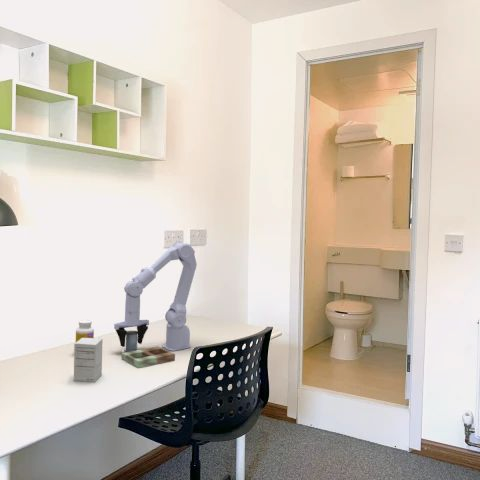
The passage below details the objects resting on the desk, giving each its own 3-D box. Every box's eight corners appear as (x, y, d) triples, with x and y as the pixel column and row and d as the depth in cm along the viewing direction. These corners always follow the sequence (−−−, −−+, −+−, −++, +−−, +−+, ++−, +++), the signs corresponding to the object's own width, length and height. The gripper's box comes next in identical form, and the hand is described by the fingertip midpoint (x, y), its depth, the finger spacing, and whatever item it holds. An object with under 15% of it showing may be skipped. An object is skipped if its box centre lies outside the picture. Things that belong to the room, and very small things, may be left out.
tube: (133, 349, 194) (133, 330, 193) (139, 352, 190) (139, 332, 190) (123, 351, 191) (123, 331, 190) (128, 354, 187) (129, 334, 187)
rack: (157, 352, 191) (157, 346, 190) (174, 360, 182) (175, 353, 182) (121, 359, 180) (121, 353, 180) (138, 368, 171) (138, 361, 171)
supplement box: (80, 373, 163) (81, 337, 162) (102, 374, 163) (103, 338, 162) (72, 381, 156) (73, 343, 155) (95, 382, 155) (96, 344, 155)
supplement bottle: (87, 357, 180) (88, 324, 180) (71, 355, 182) (72, 322, 181) (96, 352, 187) (97, 320, 186) (80, 350, 188) (81, 318, 188)
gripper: (143, 307, 197) (141, 339, 198) (111, 311, 187) (109, 345, 188) (152, 310, 192) (150, 343, 193) (119, 314, 182) (118, 349, 183)
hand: (131, 344), depth 190 cm, fingers open, 7 cm apart
